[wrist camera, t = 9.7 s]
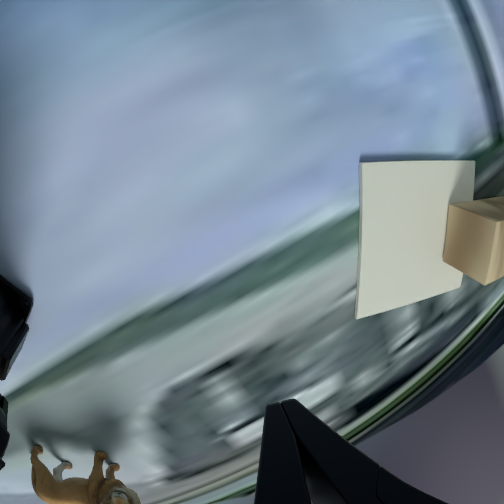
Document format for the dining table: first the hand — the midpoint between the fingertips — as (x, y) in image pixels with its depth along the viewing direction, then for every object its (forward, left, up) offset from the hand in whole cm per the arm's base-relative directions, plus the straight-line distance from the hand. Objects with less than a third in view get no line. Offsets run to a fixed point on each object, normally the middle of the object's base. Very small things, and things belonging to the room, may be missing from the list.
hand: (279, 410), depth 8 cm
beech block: (+14, +12, -10) cm, 21 cm away
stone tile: (+12, +10, -13) cm, 20 cm away
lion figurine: (+2, -28, -13) cm, 31 cm away
